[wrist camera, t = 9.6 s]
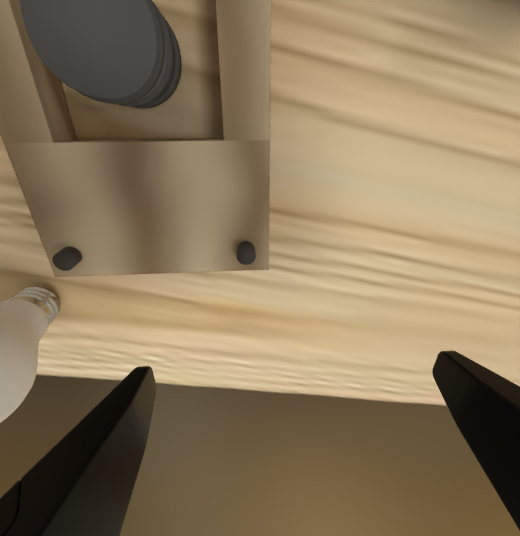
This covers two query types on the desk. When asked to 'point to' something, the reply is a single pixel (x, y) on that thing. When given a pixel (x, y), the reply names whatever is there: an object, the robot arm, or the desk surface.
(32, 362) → the light bulb
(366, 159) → the desk surface
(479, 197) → the desk surface
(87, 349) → the desk surface
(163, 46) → the stacked grey discs
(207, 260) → the wooden handle frame
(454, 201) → the desk surface
